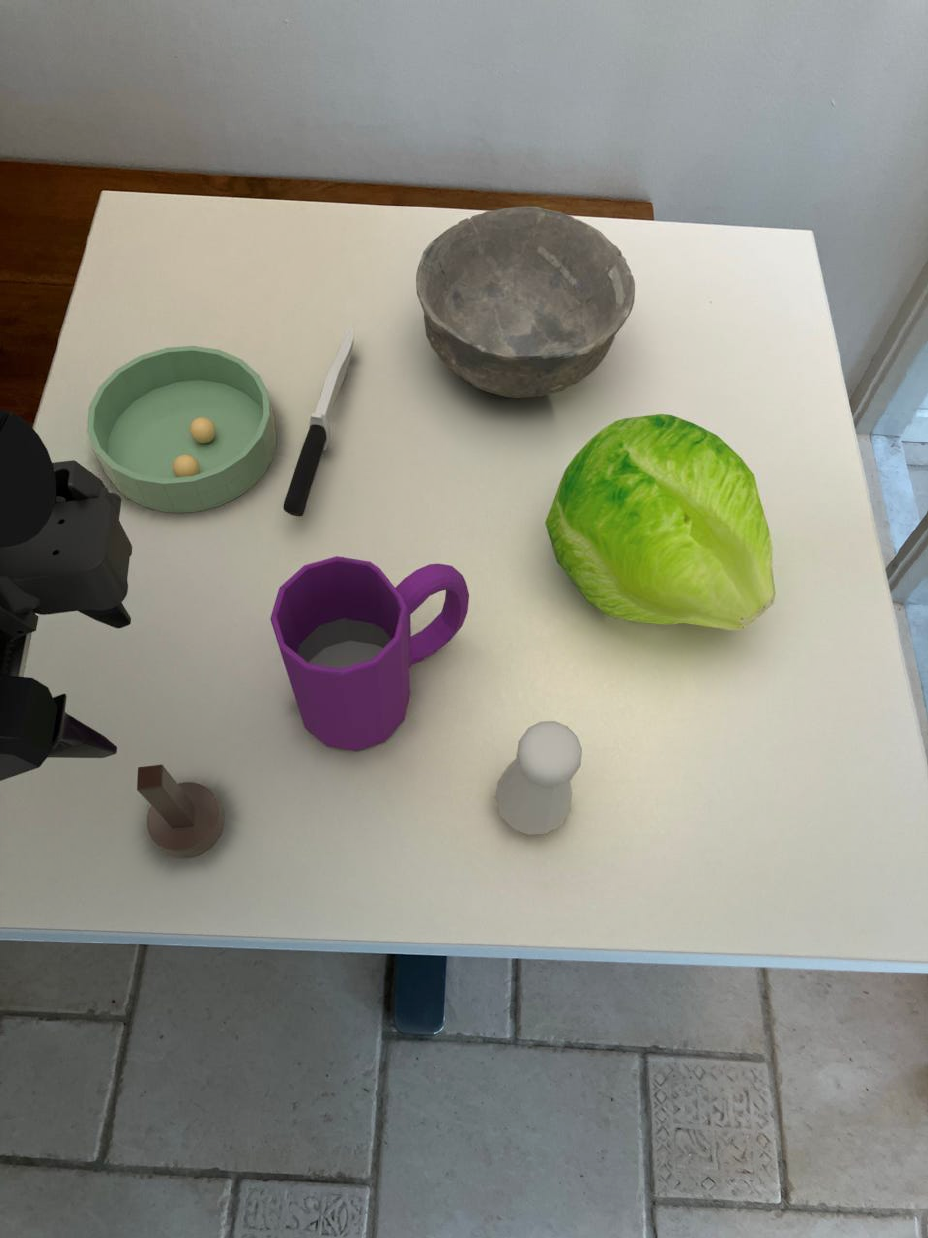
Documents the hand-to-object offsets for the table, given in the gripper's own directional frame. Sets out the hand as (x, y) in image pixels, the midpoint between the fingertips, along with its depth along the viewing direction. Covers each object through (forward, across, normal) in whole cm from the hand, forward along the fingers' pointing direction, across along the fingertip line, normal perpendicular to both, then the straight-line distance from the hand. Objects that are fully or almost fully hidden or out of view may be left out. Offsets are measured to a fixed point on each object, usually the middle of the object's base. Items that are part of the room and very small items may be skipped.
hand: (118, 685), depth 54 cm
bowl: (+24, +44, -25) cm, 56 cm away
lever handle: (+16, -2, +7) cm, 18 cm away
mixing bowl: (+12, +35, +5) cm, 37 cm away
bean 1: (+12, +31, +5) cm, 33 cm away
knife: (+17, +35, -7) cm, 40 cm away
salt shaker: (+27, -3, -17) cm, 32 cm away
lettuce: (+30, +16, -31) cm, 46 cm away
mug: (+22, +9, -8) cm, 25 cm away
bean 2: (+12, +35, +4) cm, 37 cm away
